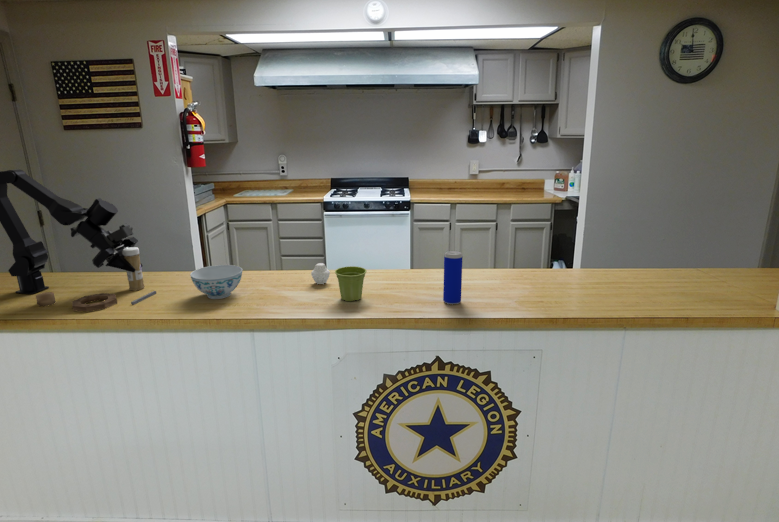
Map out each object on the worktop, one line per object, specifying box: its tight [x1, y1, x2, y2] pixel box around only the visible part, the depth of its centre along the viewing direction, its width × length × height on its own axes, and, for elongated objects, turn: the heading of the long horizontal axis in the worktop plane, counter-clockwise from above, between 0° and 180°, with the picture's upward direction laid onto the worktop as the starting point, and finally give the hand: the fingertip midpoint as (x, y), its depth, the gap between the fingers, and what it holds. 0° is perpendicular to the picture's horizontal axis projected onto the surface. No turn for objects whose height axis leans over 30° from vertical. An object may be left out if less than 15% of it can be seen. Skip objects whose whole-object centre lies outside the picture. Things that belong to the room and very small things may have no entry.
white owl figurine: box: [310, 262, 331, 285], centre depth 157 cm, size 6×6×7 cm
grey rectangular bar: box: [130, 290, 157, 306], centre depth 145 cm, size 10×1×1 cm, turn 168°
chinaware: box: [189, 264, 243, 300], centre depth 146 cm, size 15×15×8 cm
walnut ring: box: [71, 292, 118, 313], centre depth 141 cm, size 11×11×2 cm
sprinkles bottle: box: [123, 246, 145, 291], centre depth 153 cm, size 5×5×14 cm
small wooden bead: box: [35, 291, 57, 307], centre depth 141 cm, size 4×4×3 cm
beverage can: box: [442, 250, 463, 306], centre depth 138 cm, size 5×5×15 cm
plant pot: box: [334, 265, 367, 302], centre depth 143 cm, size 9×9×9 cm
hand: (138, 269), depth 153 cm, fingers closed on sprinkles bottle, 4 cm apart
